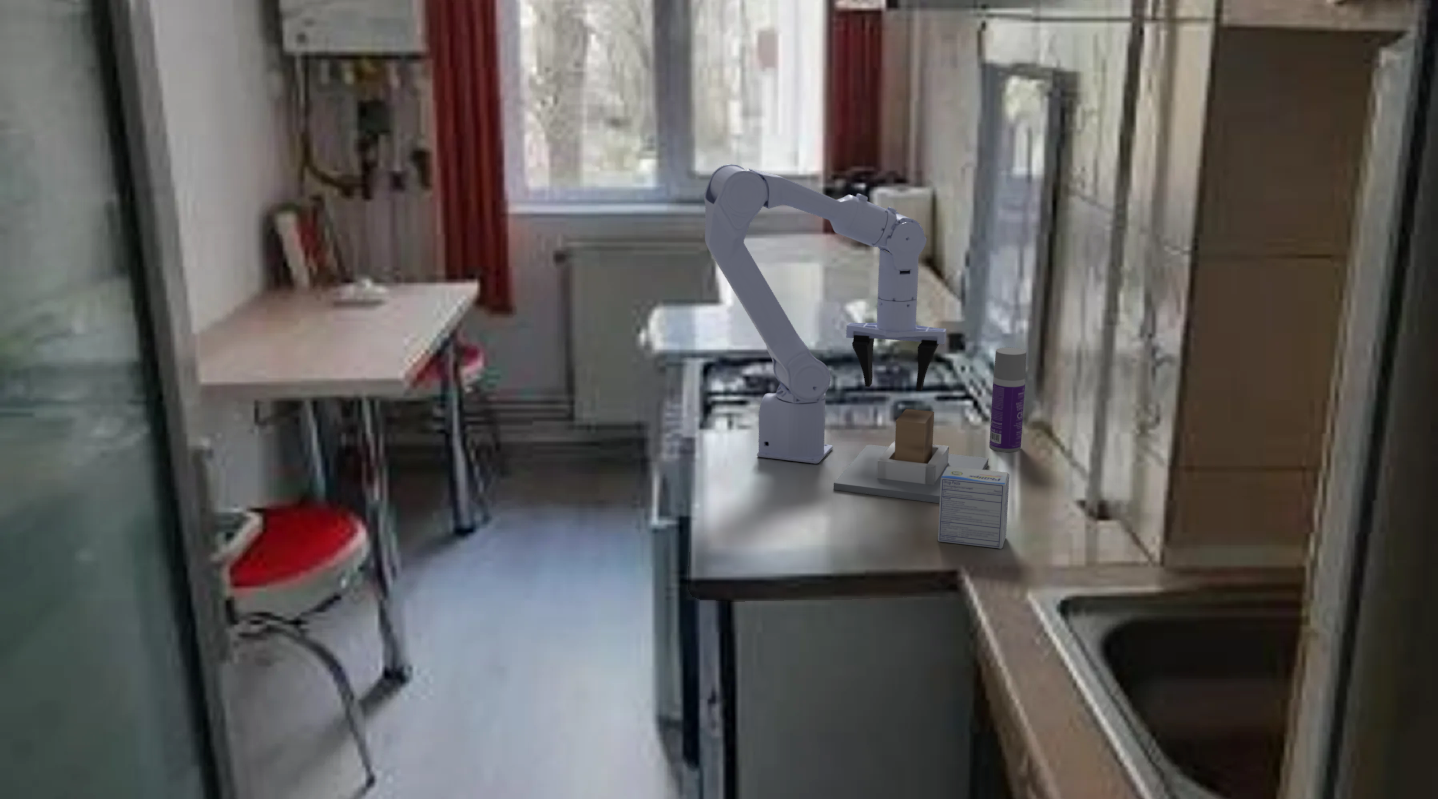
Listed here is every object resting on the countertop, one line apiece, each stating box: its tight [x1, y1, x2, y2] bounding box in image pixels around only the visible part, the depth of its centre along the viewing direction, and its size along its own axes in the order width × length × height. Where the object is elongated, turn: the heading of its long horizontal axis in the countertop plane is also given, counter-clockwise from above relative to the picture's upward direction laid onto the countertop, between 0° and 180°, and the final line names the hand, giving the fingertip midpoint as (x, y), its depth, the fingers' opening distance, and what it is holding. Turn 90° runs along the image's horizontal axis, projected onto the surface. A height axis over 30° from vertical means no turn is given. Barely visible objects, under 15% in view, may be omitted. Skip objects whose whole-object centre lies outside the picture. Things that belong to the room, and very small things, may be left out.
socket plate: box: [833, 439, 989, 504], centre depth 179 cm, size 18×18×4 cm
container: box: [988, 346, 1027, 453], centre depth 190 cm, size 5×5×15 cm
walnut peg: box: [894, 408, 935, 464], centre depth 178 cm, size 6×4×8 cm, turn 159°
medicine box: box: [937, 467, 1011, 550], centre depth 156 cm, size 8×4×9 cm, turn 71°
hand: (893, 387), depth 189 cm, fingers open, 7 cm apart
